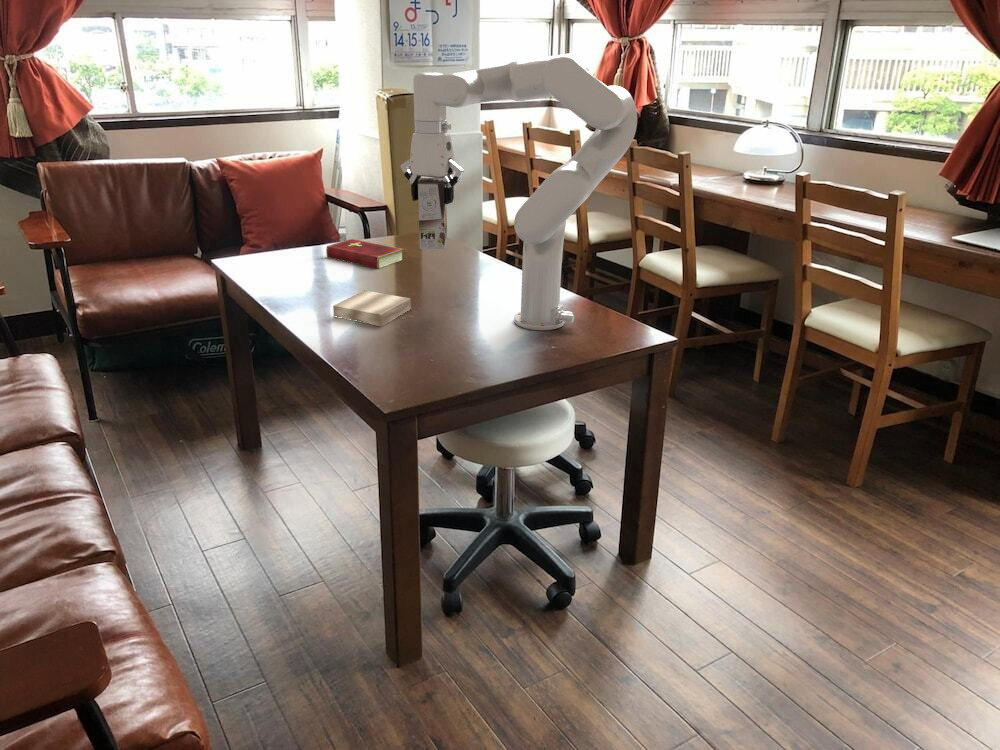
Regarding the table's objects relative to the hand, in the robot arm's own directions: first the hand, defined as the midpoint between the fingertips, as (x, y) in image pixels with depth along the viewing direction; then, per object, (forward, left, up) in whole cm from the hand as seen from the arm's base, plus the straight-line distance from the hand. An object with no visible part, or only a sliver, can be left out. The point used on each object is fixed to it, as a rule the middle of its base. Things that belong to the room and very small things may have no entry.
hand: (432, 201), depth 199 cm
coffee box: (0, 0, -11) cm, 11 cm away
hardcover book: (+42, -31, -29) cm, 60 cm away
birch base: (+12, +10, -28) cm, 32 cm away
